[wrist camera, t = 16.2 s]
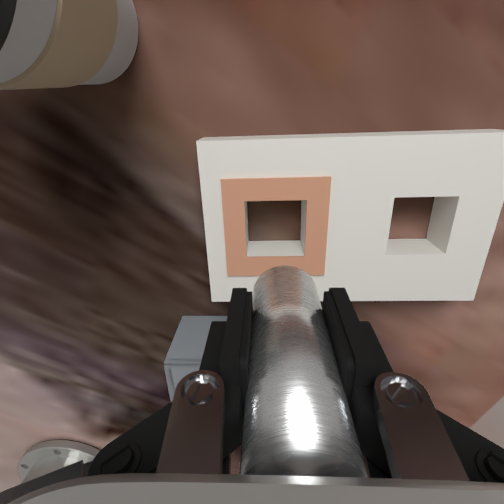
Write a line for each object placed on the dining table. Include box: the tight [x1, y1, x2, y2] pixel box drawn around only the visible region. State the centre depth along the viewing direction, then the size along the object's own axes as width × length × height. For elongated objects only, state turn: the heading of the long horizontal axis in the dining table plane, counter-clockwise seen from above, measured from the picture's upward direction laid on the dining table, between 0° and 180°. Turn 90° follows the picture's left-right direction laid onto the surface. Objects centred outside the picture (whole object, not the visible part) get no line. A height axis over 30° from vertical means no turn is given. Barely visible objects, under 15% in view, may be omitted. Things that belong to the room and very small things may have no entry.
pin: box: [240, 265, 368, 478], centre depth 10 cm, size 3×3×8 cm
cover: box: [164, 316, 227, 402], centre depth 28 cm, size 7×7×6 cm
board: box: [196, 129, 504, 302], centre depth 23 cm, size 12×20×3 cm, turn 92°
